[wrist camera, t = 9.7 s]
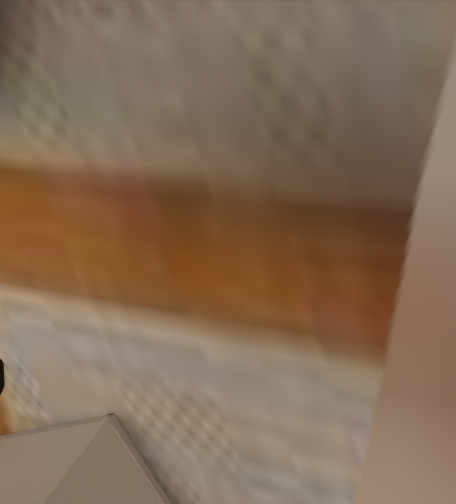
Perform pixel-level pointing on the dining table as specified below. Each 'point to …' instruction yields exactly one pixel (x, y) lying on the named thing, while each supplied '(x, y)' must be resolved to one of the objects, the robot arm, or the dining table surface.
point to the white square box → (75, 466)
